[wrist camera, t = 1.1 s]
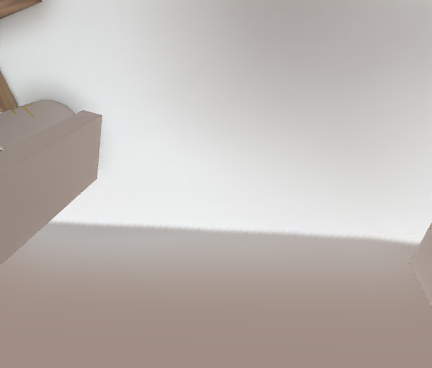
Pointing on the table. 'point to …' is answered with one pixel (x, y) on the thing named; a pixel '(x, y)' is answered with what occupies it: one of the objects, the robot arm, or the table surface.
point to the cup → (30, 120)
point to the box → (14, 6)
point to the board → (5, 96)
